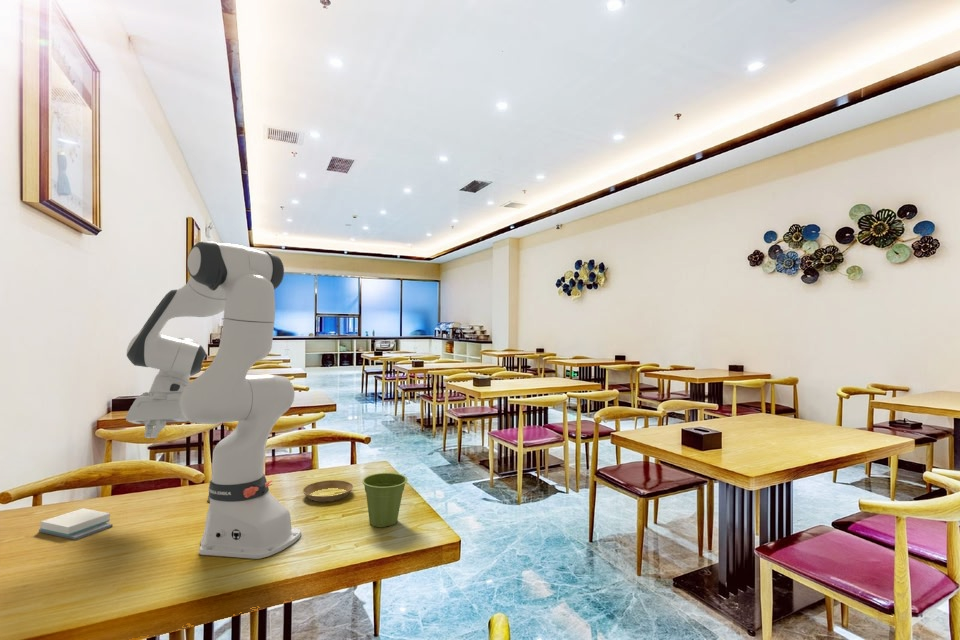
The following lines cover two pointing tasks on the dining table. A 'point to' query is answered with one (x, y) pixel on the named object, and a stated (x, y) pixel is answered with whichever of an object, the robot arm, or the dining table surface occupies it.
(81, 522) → the tile
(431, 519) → the dining table surface
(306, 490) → the plant saucer
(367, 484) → the plant pot
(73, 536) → the slate board
